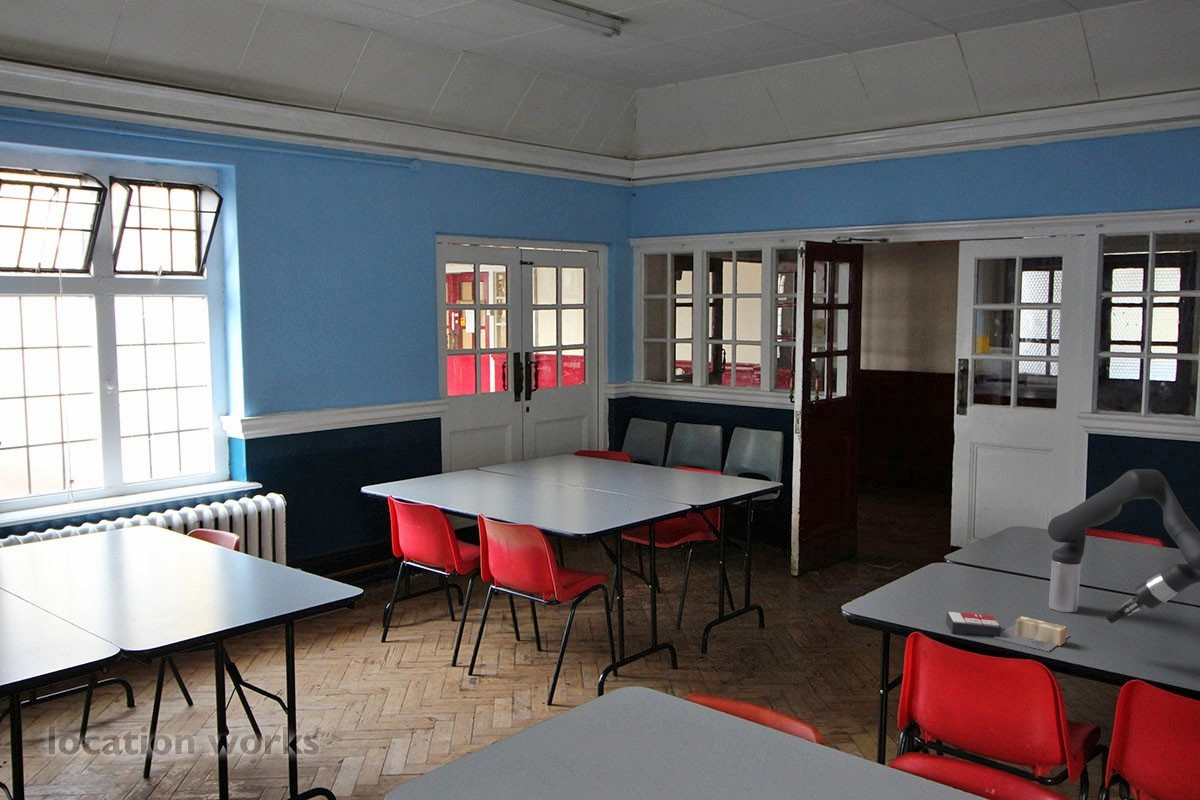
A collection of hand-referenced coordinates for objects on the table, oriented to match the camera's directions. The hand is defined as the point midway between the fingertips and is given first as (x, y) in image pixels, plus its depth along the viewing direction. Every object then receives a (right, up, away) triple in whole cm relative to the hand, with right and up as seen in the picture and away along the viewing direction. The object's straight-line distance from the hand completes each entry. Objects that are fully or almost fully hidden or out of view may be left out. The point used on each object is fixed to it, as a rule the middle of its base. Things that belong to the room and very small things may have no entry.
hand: (1109, 620), depth 299 cm
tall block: (-10, -7, +9) cm, 15 cm away
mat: (-17, -9, +16) cm, 25 cm away
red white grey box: (-33, -8, +22) cm, 41 cm away
